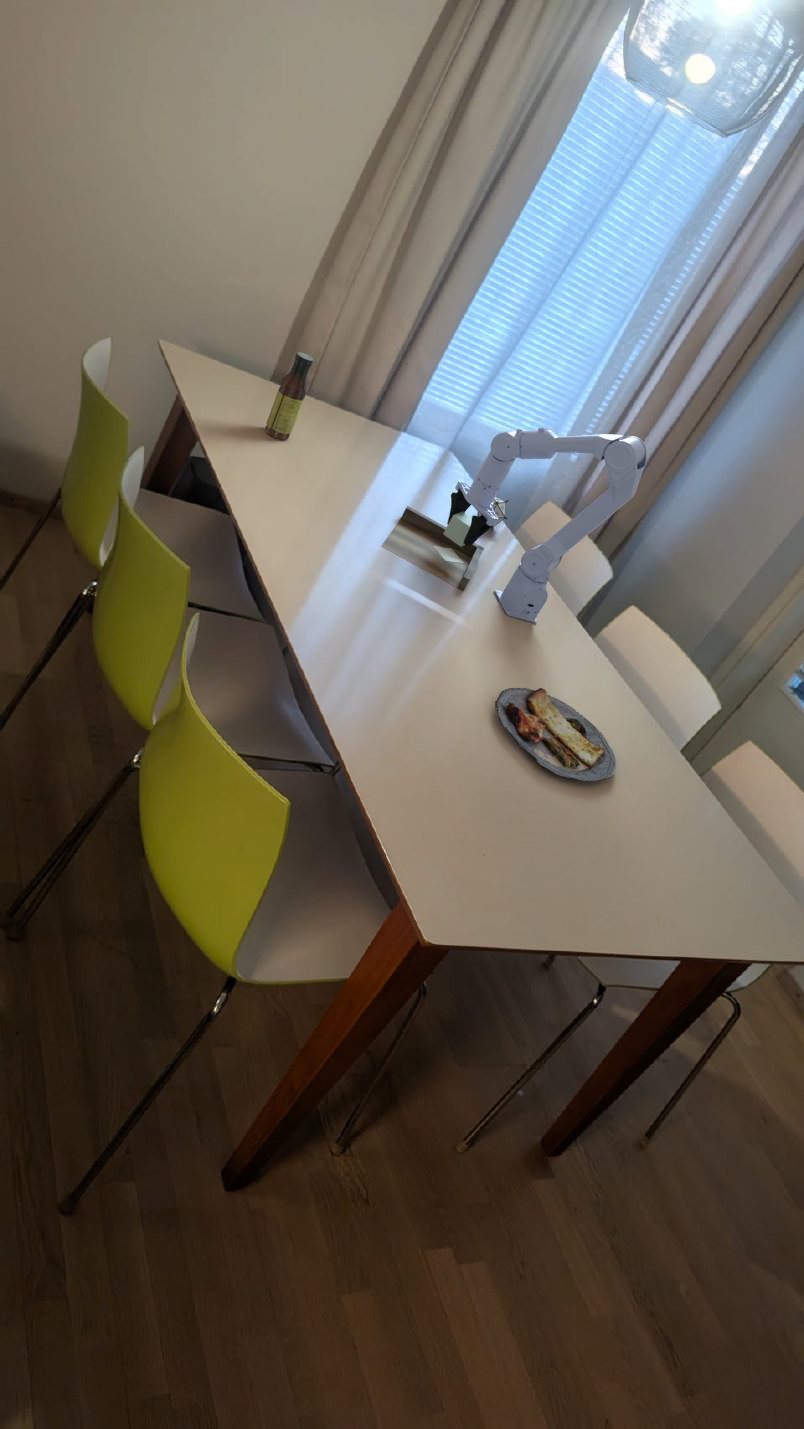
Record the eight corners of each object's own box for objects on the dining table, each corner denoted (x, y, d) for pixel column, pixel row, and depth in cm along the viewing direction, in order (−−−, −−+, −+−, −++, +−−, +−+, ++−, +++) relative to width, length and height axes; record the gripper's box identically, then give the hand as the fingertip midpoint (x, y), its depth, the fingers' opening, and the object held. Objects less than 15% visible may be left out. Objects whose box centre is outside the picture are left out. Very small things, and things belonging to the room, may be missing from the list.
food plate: (469, 702, 191) (478, 688, 189) (541, 688, 208) (550, 675, 206) (560, 800, 180) (571, 786, 178) (628, 777, 198) (638, 763, 196)
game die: (479, 540, 263) (492, 523, 254) (462, 512, 264) (474, 493, 255) (507, 527, 266) (521, 509, 257) (490, 499, 267) (503, 480, 258)
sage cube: (460, 546, 230) (471, 528, 228) (443, 534, 232) (453, 515, 229) (470, 542, 235) (480, 524, 232) (452, 530, 236) (462, 511, 233)
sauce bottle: (293, 440, 250) (325, 364, 239) (277, 442, 245) (310, 364, 234) (273, 425, 251) (304, 349, 241) (257, 427, 246) (288, 349, 236)
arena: (461, 595, 225) (469, 580, 223) (379, 550, 224) (387, 534, 222) (476, 562, 242) (484, 548, 240) (400, 520, 241) (407, 505, 239)
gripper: (518, 503, 224) (489, 555, 231) (484, 467, 232) (456, 518, 239) (495, 499, 219) (465, 552, 226) (460, 462, 228) (433, 514, 235)
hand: (459, 534), depth 233 cm, fingers closed on sage cube, 7 cm apart
